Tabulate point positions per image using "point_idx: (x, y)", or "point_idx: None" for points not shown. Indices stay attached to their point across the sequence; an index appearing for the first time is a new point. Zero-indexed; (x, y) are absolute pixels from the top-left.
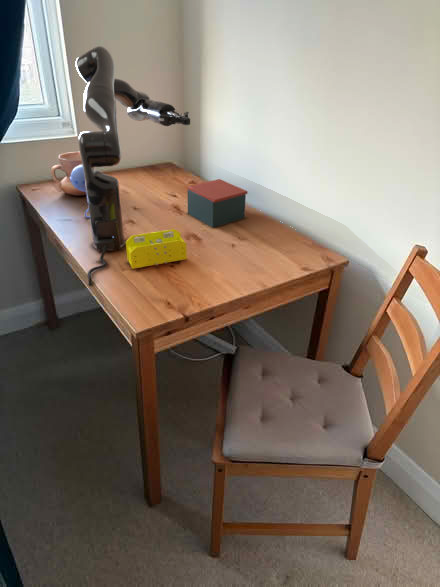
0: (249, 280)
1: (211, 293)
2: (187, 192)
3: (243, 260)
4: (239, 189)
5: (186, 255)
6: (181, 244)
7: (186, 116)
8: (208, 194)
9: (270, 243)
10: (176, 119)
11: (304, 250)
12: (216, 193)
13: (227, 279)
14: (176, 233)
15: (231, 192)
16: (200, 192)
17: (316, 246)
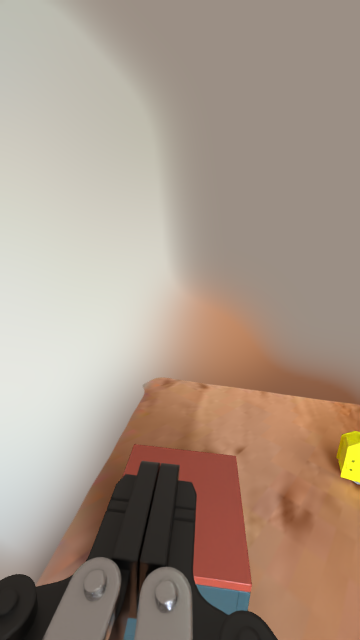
0: (271, 402)
1: (324, 409)
2: (248, 602)
3: (252, 423)
4: (137, 459)
5: (337, 452)
6: (350, 437)
7: (35, 589)
8: (228, 484)
9: (186, 426)
10: (215, 620)
11: (168, 399)
12: (205, 476)
13: (294, 413)
14: (356, 447)
15: (169, 459)
16: (240, 508)
17: (147, 396)
